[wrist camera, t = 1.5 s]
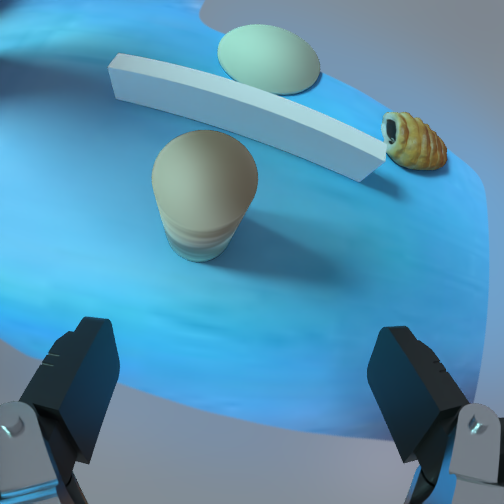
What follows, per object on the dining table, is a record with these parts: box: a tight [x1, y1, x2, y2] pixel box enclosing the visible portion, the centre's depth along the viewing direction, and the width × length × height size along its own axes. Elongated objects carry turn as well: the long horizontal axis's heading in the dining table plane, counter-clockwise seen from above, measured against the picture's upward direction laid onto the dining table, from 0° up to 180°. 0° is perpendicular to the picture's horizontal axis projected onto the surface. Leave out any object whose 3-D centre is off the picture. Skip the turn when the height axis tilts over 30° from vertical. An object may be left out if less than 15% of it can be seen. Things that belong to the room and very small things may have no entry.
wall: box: [107, 53, 387, 182], centre depth 27 cm, size 26×2×5 cm, turn 73°
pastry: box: [381, 112, 447, 170], centre depth 31 cm, size 9×7×4 cm
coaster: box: [217, 24, 320, 95], centre depth 32 cm, size 12×12×1 cm
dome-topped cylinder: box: [152, 130, 258, 262], centre depth 21 cm, size 6×6×11 cm
